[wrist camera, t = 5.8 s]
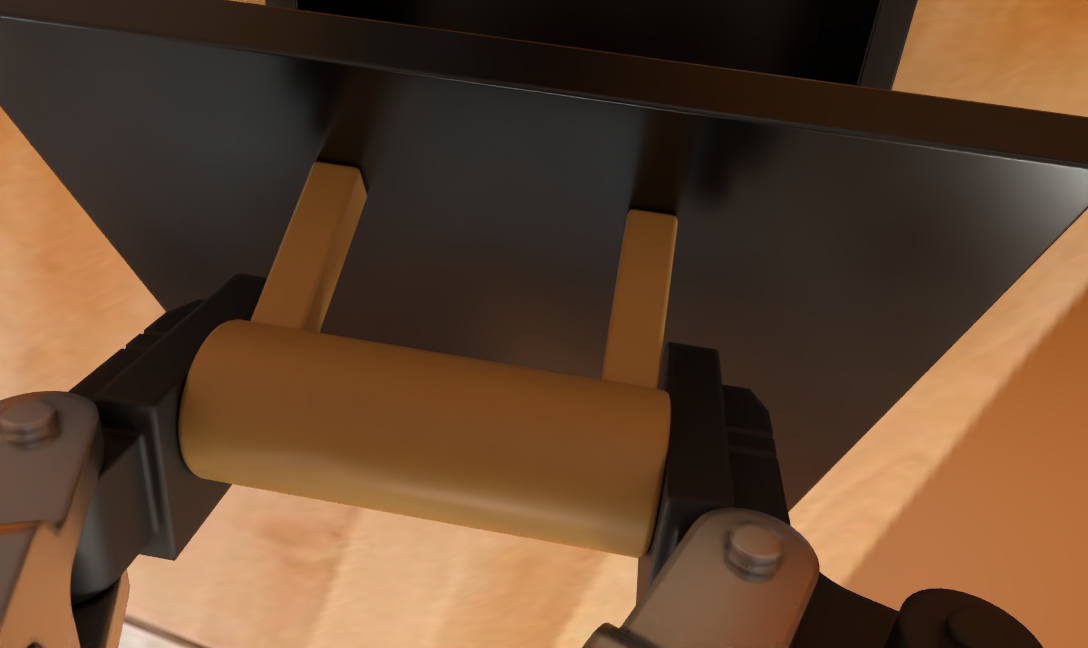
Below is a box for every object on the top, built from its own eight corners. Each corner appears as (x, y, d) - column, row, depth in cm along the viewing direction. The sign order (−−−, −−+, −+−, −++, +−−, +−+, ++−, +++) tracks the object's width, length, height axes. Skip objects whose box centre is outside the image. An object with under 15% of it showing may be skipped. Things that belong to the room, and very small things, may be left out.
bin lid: (-54, -41, 11) (-339, 318, 8) (1116, 118, 10) (1212, 593, 7) (277, 414, 24) (210, 601, 22) (773, 501, 23) (764, 709, 21)
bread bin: (362, -119, 24) (259, -139, 18) (865, -58, 23) (935, -57, 17) (357, 323, 31) (279, 418, 24) (750, 388, 29) (771, 505, 23)
